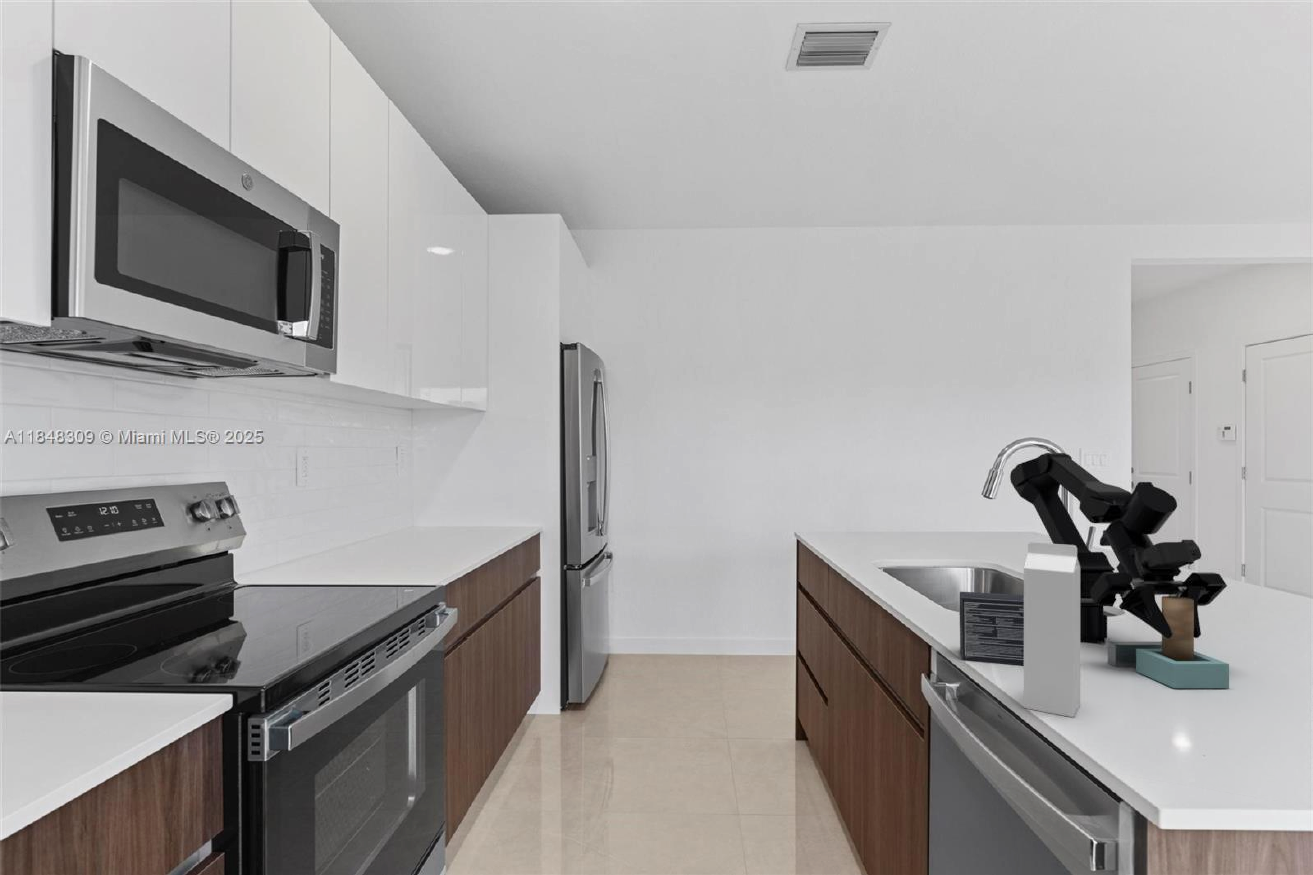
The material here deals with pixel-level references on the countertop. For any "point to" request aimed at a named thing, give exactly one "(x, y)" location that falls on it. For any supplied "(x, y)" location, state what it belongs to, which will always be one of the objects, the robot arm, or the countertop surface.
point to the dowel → (1179, 628)
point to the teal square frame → (1183, 670)
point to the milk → (1052, 629)
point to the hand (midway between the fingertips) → (1184, 636)
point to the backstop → (1127, 652)
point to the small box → (992, 627)
